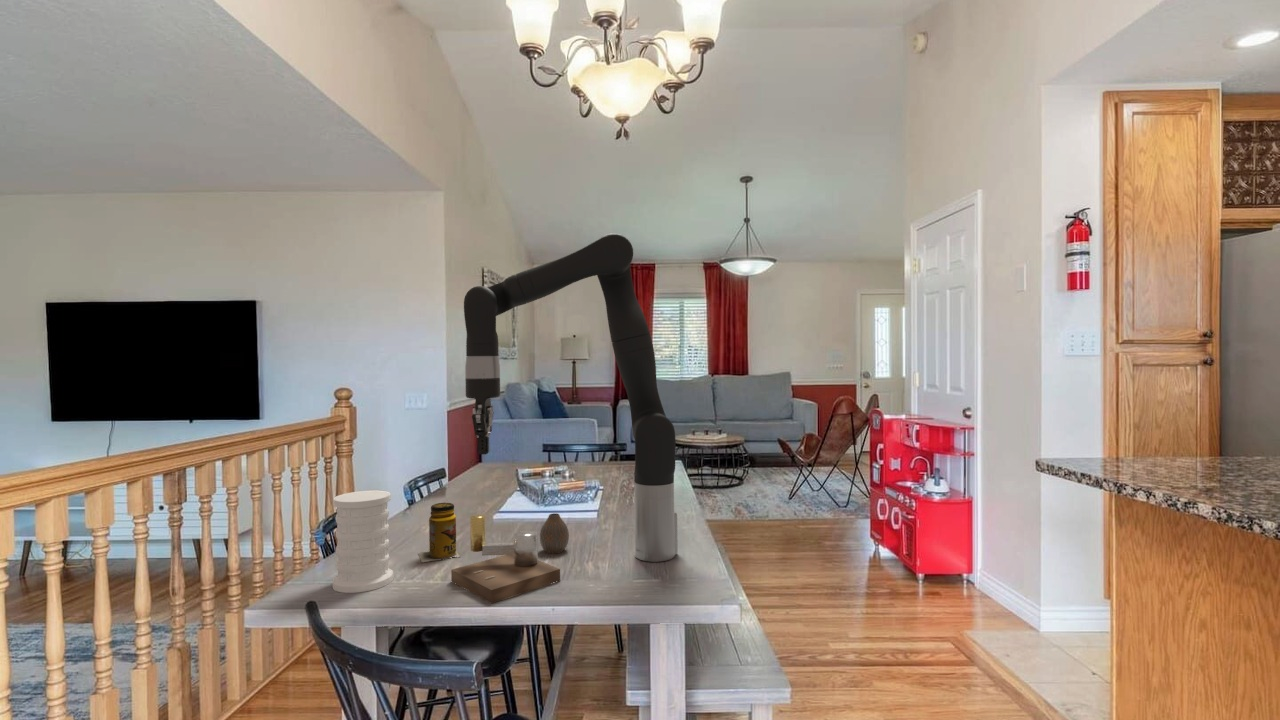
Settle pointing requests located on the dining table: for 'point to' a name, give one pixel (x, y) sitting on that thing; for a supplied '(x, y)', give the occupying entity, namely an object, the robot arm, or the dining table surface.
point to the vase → (554, 534)
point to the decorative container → (362, 541)
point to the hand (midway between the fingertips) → (483, 453)
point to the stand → (503, 577)
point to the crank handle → (520, 548)
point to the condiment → (441, 533)
